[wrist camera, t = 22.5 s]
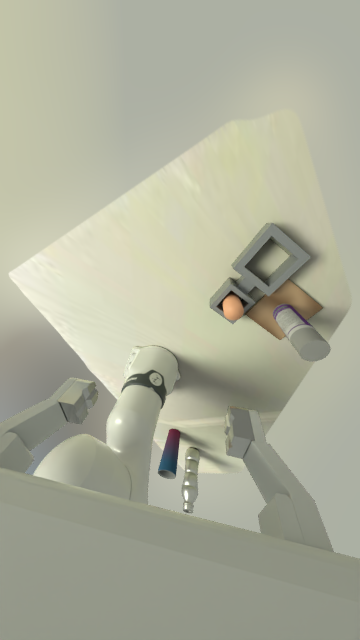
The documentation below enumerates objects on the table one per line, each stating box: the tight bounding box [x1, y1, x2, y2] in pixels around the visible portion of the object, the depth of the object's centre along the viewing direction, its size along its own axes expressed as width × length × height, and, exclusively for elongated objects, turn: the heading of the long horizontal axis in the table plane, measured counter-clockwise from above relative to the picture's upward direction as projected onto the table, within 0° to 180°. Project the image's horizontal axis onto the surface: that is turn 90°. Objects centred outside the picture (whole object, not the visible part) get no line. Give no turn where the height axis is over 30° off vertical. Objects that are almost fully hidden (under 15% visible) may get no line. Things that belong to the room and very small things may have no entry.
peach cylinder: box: [222, 290, 244, 320], centre depth 39 cm, size 4×4×8 cm
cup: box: [158, 429, 180, 479], centre depth 69 cm, size 7×7×15 cm
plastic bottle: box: [182, 448, 200, 513], centre depth 71 cm, size 6×7×20 cm
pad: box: [245, 279, 323, 340], centre depth 42 cm, size 12×12×1 cm
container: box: [273, 304, 330, 361], centre depth 35 cm, size 5×5×15 cm
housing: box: [210, 223, 311, 324], centre depth 37 cm, size 20×10×5 cm, turn 146°
